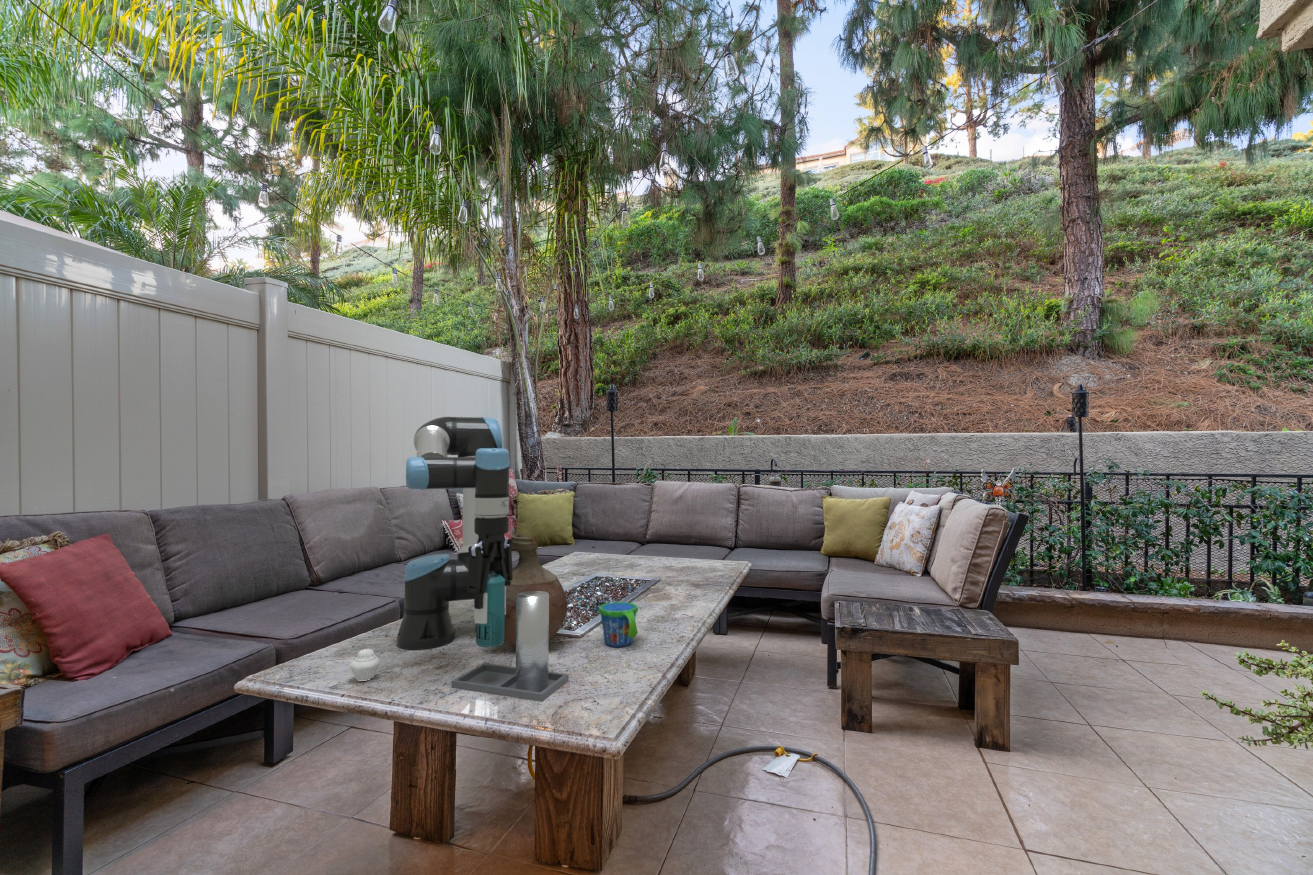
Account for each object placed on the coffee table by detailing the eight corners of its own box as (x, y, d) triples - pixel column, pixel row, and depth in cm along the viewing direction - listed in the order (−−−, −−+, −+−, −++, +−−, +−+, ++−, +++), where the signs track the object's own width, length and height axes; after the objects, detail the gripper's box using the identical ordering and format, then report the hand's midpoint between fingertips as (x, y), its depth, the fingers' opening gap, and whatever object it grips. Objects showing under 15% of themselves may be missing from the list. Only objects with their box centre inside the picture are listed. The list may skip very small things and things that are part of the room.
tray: (483, 673, 133) (483, 662, 133) (568, 684, 126) (568, 674, 126) (451, 692, 122) (451, 680, 122) (542, 706, 115) (542, 694, 115)
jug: (568, 655, 144) (567, 538, 146) (482, 662, 140) (481, 542, 142) (566, 630, 166) (565, 529, 167) (491, 636, 162) (490, 531, 163)
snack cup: (590, 638, 159) (590, 602, 160) (623, 633, 164) (623, 597, 164) (612, 655, 145) (612, 615, 146) (648, 648, 150) (648, 610, 151)
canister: (526, 679, 127) (527, 589, 128) (554, 682, 125) (554, 592, 125) (509, 691, 120) (510, 597, 121) (538, 695, 118) (538, 599, 119)
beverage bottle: (508, 644, 130) (509, 557, 130) (501, 654, 123) (502, 562, 124) (479, 644, 129) (481, 557, 130) (471, 654, 123) (472, 562, 124)
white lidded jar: (381, 672, 133) (381, 643, 134) (378, 682, 128) (379, 651, 128) (351, 676, 131) (352, 646, 131) (347, 686, 125) (348, 654, 126)
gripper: (479, 520, 117) (478, 632, 116) (529, 512, 135) (528, 608, 134) (449, 519, 119) (448, 629, 118) (502, 511, 138) (501, 606, 137)
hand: (490, 618), depth 126 cm, fingers closed on beverage bottle, 6 cm apart
